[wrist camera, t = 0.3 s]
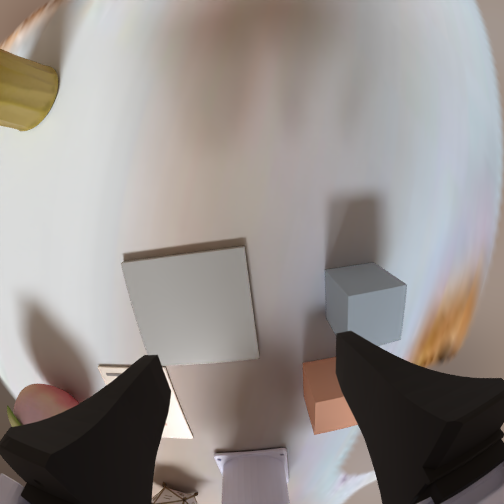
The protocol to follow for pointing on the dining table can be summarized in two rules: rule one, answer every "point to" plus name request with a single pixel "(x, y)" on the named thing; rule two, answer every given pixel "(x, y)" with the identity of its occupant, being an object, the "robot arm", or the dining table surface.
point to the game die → (173, 497)
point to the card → (175, 419)
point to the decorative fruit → (39, 404)
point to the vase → (25, 91)
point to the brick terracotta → (325, 397)
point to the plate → (194, 306)
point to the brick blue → (365, 302)
